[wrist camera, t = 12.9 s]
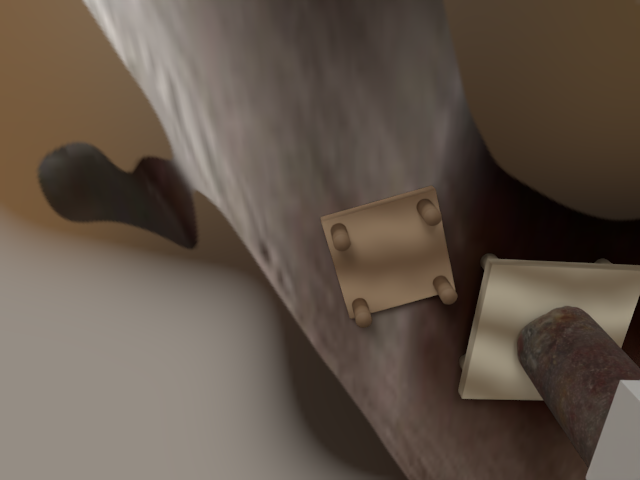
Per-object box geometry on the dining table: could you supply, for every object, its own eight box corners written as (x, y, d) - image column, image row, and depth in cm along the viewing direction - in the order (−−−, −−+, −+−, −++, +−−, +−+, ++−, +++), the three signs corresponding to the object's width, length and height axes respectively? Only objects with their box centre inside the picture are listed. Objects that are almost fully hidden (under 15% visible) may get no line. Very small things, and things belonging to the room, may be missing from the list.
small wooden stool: (476, 245, 48) (492, 264, 45) (620, 252, 50) (647, 271, 46) (449, 372, 54) (462, 398, 50) (580, 375, 55) (602, 401, 51)
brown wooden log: (523, 383, 50) (665, 599, 31) (497, 325, 47) (635, 524, 29) (601, 348, 49) (794, 551, 30) (578, 287, 46) (775, 468, 28)
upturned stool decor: (320, 217, 46) (323, 234, 42) (431, 185, 46) (445, 200, 42) (348, 312, 50) (353, 335, 46) (451, 283, 50) (465, 305, 46)
